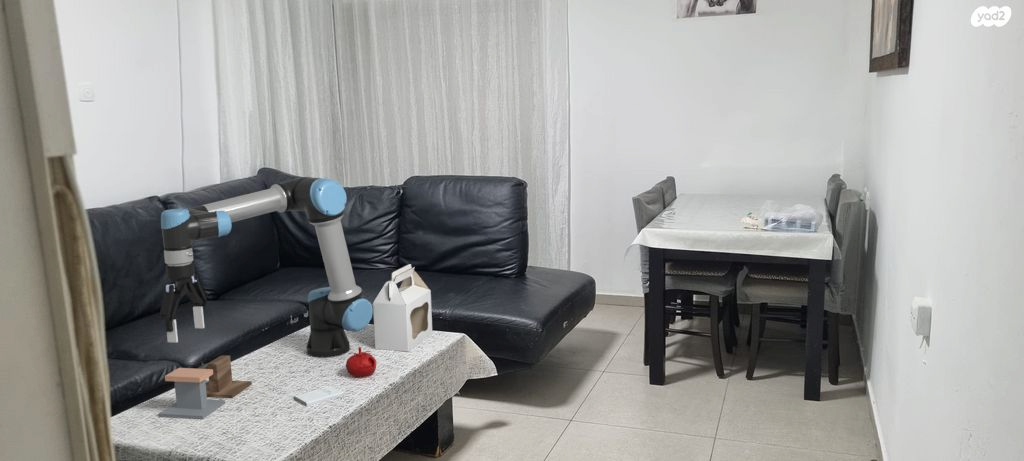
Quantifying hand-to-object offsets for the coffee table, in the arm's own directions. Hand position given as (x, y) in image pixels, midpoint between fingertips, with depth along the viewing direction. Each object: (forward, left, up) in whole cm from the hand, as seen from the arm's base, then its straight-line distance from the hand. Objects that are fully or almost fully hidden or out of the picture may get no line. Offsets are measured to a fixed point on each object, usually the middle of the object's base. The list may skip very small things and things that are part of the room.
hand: (186, 334), depth 230 cm
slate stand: (0, +1, -23) cm, 23 cm away
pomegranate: (-39, -34, -23) cm, 57 cm away
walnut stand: (0, -15, -23) cm, 27 cm away
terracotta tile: (0, +1, -13) cm, 13 cm away
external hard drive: (-33, -14, -23) cm, 43 cm away
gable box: (-42, -70, -23) cm, 85 cm away
